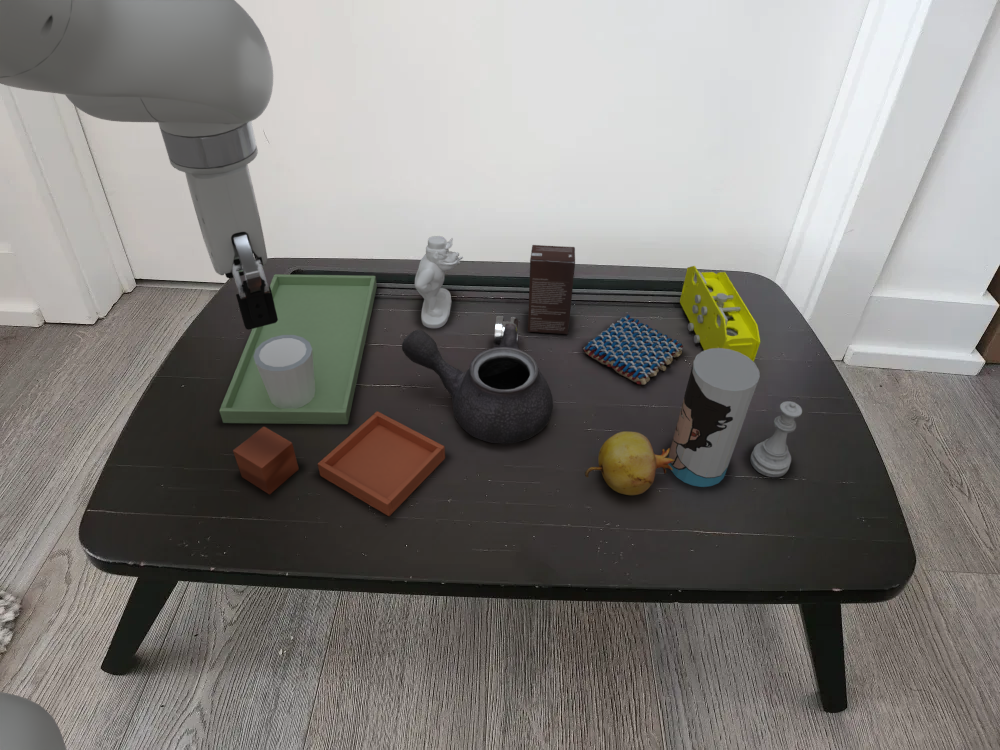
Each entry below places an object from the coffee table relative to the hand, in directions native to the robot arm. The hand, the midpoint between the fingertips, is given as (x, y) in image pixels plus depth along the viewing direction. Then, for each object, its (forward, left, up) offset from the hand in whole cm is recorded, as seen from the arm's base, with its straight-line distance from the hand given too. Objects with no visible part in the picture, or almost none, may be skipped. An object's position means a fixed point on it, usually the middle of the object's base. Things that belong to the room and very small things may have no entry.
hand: (251, 298), depth 75 cm
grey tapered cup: (+4, +3, -19) cm, 20 cm away
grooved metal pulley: (+28, -14, -20) cm, 37 cm away
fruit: (+16, -38, -20) cm, 46 cm away
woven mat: (+37, -29, -20) cm, 51 cm away
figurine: (+30, -1, -20) cm, 36 cm away
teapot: (+17, -17, -20) cm, 31 cm away
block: (-6, -4, -19) cm, 21 cm away
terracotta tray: (+2, -14, -19) cm, 24 cm away
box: (+36, -16, -20) cm, 44 cm away
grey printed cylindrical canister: (+23, -44, -20) cm, 53 cm away
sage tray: (+13, +8, -19) cm, 25 cm away
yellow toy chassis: (+47, -37, -20) cm, 62 cm away
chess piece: (+28, -51, -20) cm, 61 cm away
